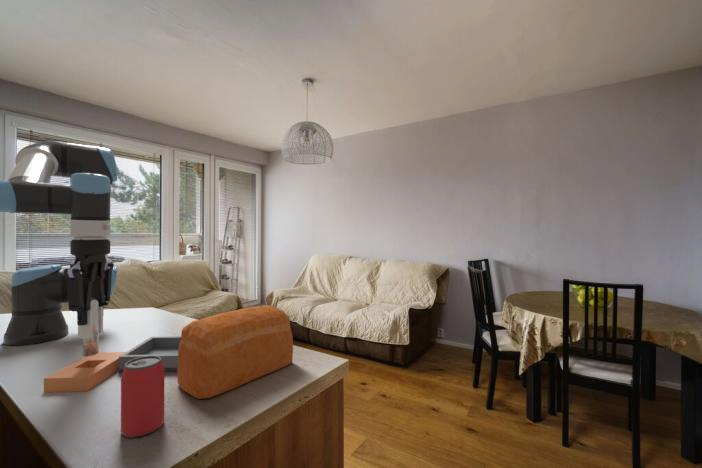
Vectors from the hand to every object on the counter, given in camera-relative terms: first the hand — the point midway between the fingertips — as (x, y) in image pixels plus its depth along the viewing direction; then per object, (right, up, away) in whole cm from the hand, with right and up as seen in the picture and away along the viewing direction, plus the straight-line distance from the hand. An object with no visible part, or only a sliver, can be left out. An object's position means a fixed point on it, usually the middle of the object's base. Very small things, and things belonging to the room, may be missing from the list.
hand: (90, 335), depth 78 cm
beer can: (+26, -11, -20) cm, 34 cm away
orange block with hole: (0, -10, 0) cm, 10 cm away
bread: (+35, -11, +2) cm, 37 cm away
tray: (+12, -10, +10) cm, 19 cm away
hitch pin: (0, -5, 0) cm, 5 cm away
